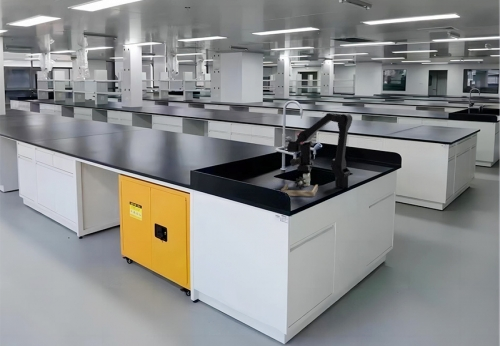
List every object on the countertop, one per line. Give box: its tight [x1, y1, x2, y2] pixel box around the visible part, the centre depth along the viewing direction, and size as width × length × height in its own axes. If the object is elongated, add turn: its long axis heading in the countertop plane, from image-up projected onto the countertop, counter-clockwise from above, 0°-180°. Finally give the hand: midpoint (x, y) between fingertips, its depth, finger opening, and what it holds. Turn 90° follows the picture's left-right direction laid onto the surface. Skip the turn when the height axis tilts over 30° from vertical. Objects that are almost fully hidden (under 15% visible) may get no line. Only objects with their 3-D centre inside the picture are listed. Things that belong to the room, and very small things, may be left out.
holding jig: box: [279, 183, 319, 197], centre depth 225 cm, size 17×16×2 cm
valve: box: [294, 173, 311, 190], centre depth 237 cm, size 7×7×12 cm
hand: (305, 180), depth 245 cm, fingers closed
